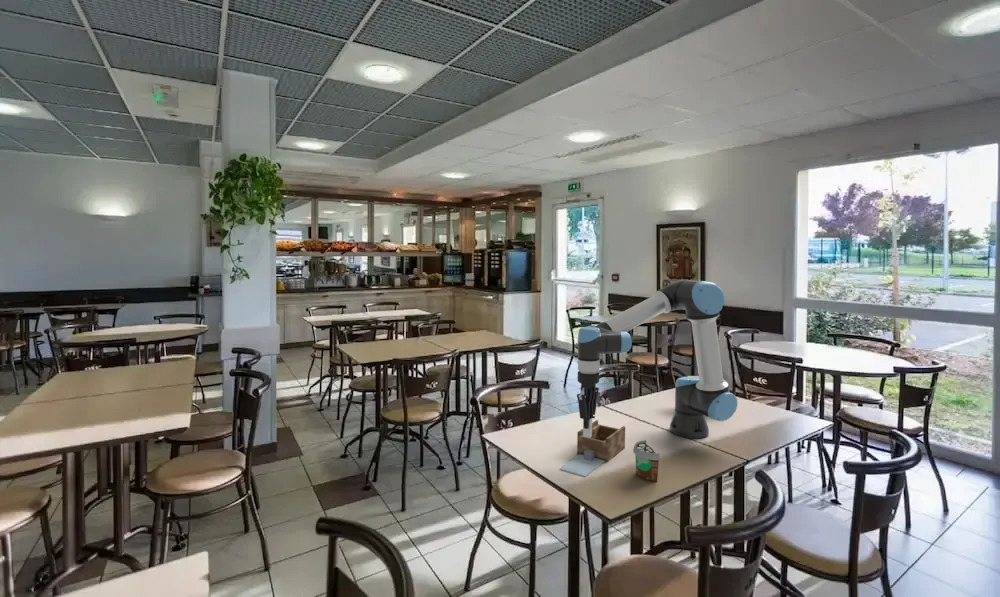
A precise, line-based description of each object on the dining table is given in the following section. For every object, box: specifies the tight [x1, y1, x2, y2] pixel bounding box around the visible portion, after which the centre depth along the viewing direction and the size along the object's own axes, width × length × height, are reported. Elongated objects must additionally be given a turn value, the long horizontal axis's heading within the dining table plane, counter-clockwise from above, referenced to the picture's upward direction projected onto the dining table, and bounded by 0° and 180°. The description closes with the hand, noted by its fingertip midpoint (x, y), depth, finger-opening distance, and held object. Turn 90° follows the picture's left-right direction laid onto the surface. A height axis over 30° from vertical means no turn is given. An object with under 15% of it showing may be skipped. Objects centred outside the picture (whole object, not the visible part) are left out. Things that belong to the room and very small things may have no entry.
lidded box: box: [576, 419, 626, 463], centre depth 184 cm, size 16×12×8 cm
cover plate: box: [559, 449, 605, 478], centre depth 172 cm, size 15×10×4 cm, turn 144°
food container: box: [632, 439, 661, 483], centre depth 164 cm, size 12×6×10 cm, turn 5°
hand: (587, 436), depth 174 cm, fingers closed
